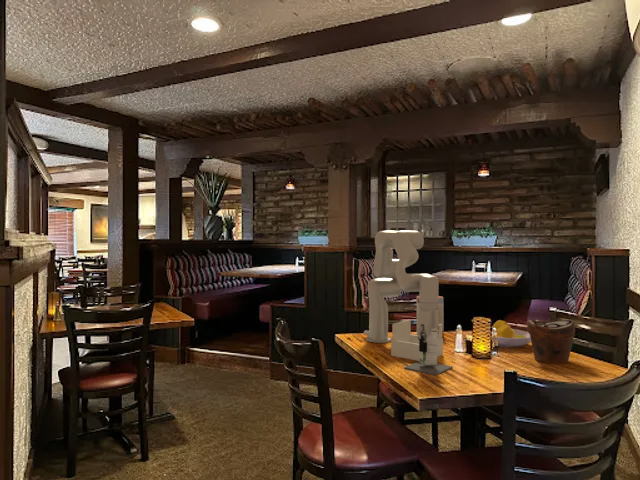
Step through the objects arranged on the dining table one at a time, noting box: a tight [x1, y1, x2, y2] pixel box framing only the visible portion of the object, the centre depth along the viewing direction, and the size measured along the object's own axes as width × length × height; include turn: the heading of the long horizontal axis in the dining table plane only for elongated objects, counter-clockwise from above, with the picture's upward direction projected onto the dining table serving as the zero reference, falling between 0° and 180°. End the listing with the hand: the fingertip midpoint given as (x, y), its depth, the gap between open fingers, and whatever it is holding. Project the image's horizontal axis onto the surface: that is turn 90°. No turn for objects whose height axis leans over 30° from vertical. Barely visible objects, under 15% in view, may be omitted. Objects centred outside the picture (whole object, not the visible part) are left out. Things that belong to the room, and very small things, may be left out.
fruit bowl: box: [470, 319, 531, 348], centre depth 233 cm, size 28×27×11 cm
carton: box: [390, 319, 444, 362], centre depth 209 cm, size 17×17×14 cm
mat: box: [403, 361, 454, 376], centre depth 188 cm, size 14×14×1 cm
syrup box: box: [420, 328, 438, 365], centre depth 188 cm, size 6×6×14 cm
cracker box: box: [416, 295, 445, 336], centre depth 256 cm, size 14×6×21 cm, turn 84°
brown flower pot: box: [526, 319, 576, 365], centre depth 202 cm, size 18×20×18 cm
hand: (428, 349), depth 188 cm, fingers closed on syrup box, 8 cm apart
